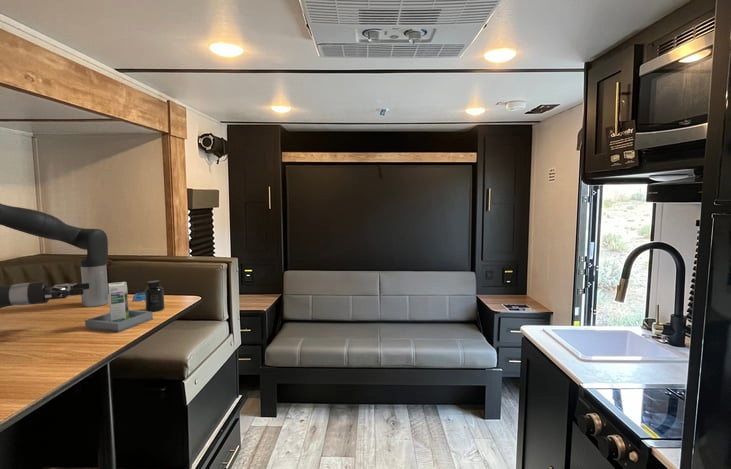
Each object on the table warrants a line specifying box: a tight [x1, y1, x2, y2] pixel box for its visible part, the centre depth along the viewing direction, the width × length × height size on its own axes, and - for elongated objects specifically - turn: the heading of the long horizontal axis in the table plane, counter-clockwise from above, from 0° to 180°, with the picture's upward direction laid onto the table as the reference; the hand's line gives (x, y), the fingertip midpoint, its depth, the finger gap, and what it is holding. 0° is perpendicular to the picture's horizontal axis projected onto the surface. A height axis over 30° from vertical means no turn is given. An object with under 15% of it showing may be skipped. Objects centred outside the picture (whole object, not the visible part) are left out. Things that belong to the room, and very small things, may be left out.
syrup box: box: [108, 281, 130, 323], centre depth 146 cm, size 6×6×14 cm
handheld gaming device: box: [133, 292, 145, 302], centre depth 186 cm, size 8×1×15 cm
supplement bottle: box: [144, 280, 165, 313], centre depth 164 cm, size 7×7×12 cm
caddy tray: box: [84, 309, 154, 333], centre depth 146 cm, size 15×15×3 cm
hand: (86, 288), depth 142 cm, fingers open, 8 cm apart
